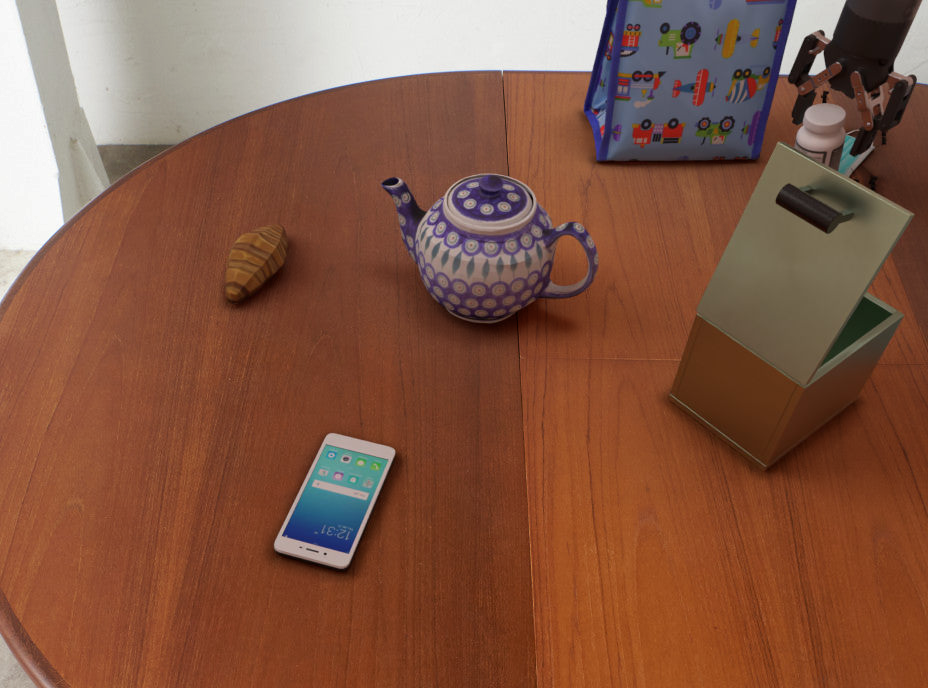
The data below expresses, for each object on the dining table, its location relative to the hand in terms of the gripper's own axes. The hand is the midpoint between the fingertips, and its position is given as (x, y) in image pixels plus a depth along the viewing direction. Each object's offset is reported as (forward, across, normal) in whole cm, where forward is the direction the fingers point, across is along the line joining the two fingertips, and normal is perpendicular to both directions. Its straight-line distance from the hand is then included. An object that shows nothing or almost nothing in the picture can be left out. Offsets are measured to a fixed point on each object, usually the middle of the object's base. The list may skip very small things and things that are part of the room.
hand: (826, 137), depth 116 cm
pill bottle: (+7, 0, 0) cm, 7 cm away
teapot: (+8, +11, +47) cm, 49 cm away
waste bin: (+7, -20, +35) cm, 41 cm away
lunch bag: (+7, +19, +6) cm, 21 cm away
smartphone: (+8, -3, +78) cm, 78 cm away
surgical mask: (+7, 0, -9) cm, 11 cm away
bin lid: (-13, -20, +40) cm, 47 cm away
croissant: (+8, +30, +65) cm, 72 cm away
